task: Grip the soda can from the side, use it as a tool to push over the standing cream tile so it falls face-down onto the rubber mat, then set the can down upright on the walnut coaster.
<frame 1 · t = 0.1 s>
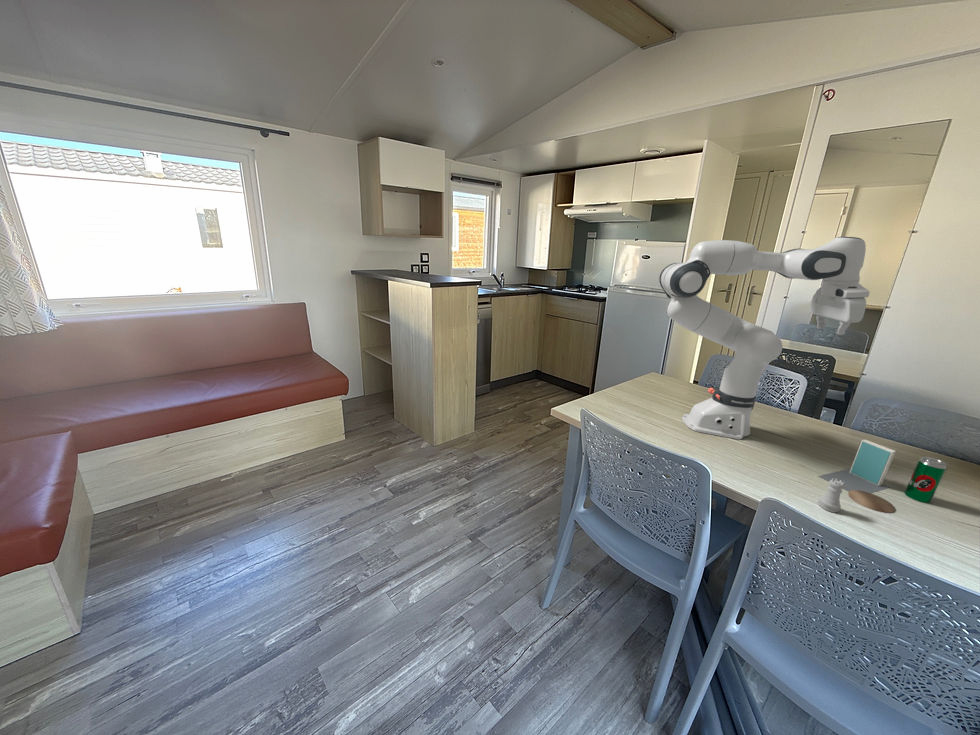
hand: (829, 331, 127), 39 cm above the table, tool pointing down, fingers open, 8 cm apart
rook chess piece: (827, 508, 99), on the table
rubber mat: (853, 483, 110), on the table
soda can: (916, 499, 105), on the table
coaster: (870, 502, 102), on the table
glazed tile: (865, 478, 112), resting on rubber mat
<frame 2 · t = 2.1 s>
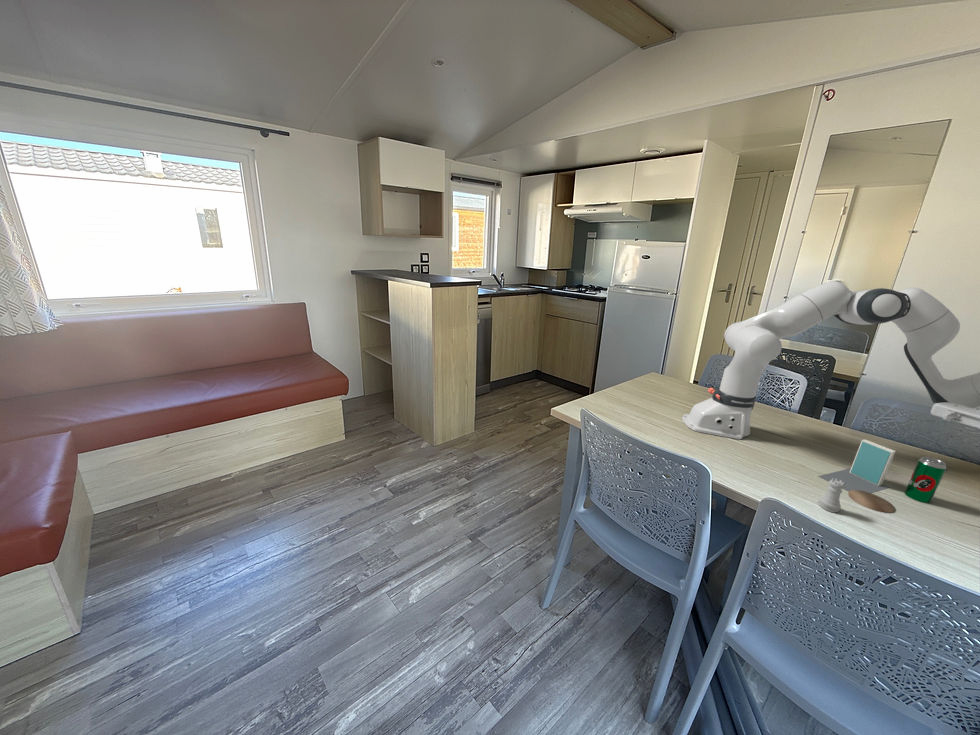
hand: (972, 425, 102), 21 cm above the table, tool horizontal, fingers open, 8 cm apart
nothing on the table moved.
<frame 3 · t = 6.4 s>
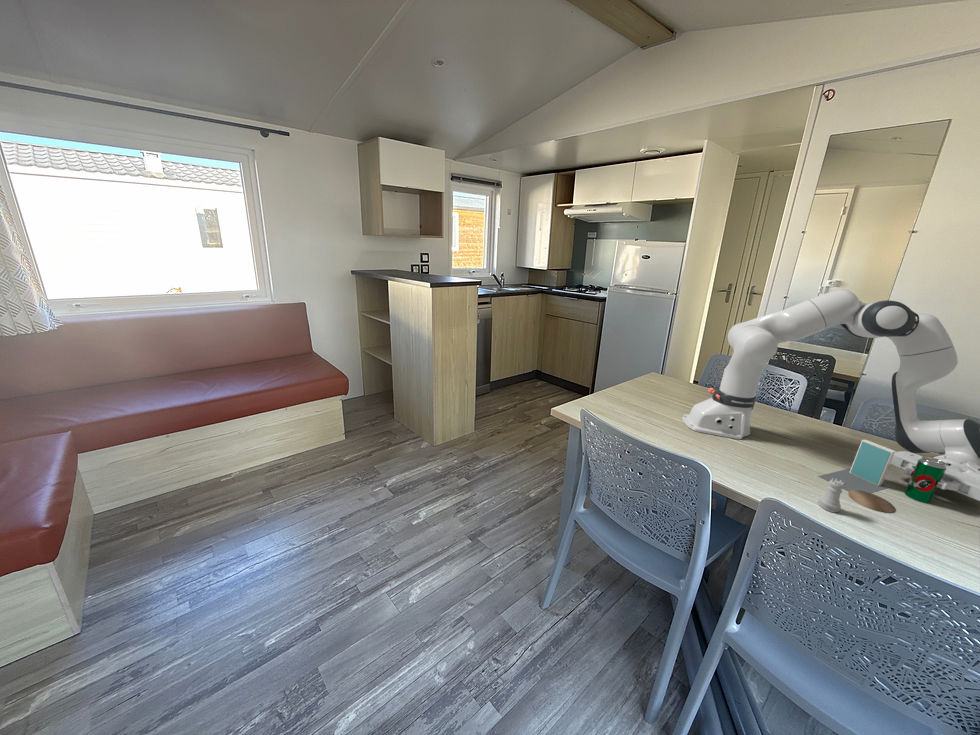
hand: (924, 478, 102), 7 cm above the table, tool horizontal, fingers closed on soda can, 5 cm apart
soda can: (916, 499, 105), on the table, touching gripper
everything else where it was.
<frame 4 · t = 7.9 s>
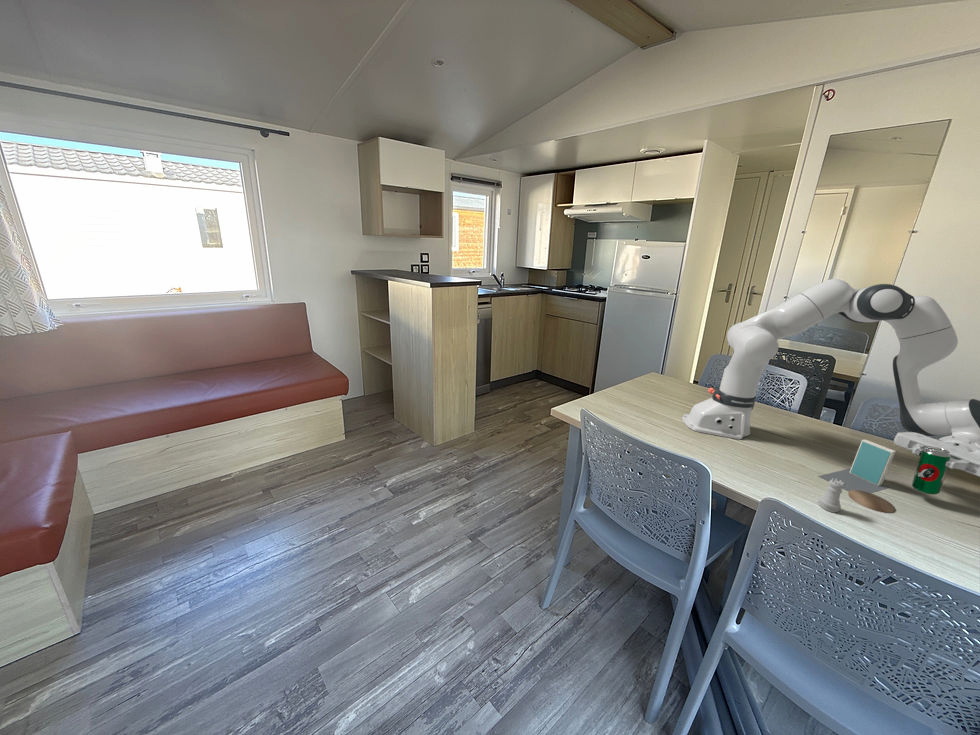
hand: (931, 458, 100), 13 cm above the table, tool horizontal, fingers closed on soda can, 5 cm apart
soda can: (924, 491, 103), point 3 cm above the table, touching gripper
everything else where it was.
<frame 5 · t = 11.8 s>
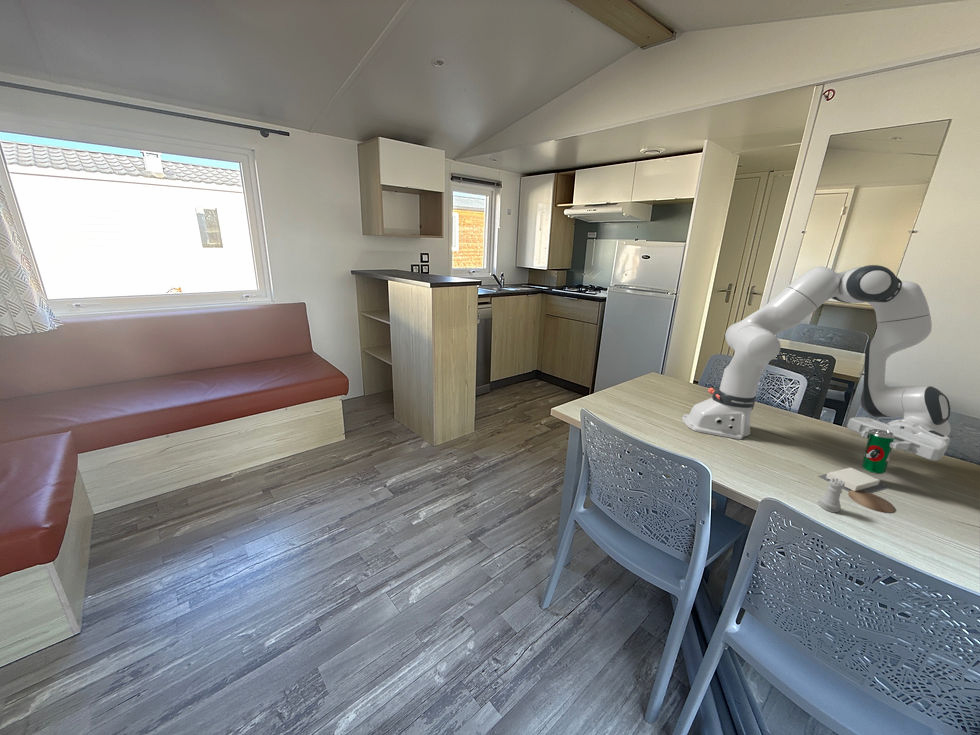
hand: (878, 440, 108), 13 cm above the table, tool horizontal, fingers closed on soda can, 5 cm apart
soda can: (872, 471, 110), point 4 cm above the table, touching gripper
glazed tile: (864, 475, 111), point 2 cm above the table, tilted 90°, touching coaster, rubber mat
everything else where it was.
when the fingers open (11 cm above the table, at t = 16.5 s): soda can stays where it is, resting on coaster.
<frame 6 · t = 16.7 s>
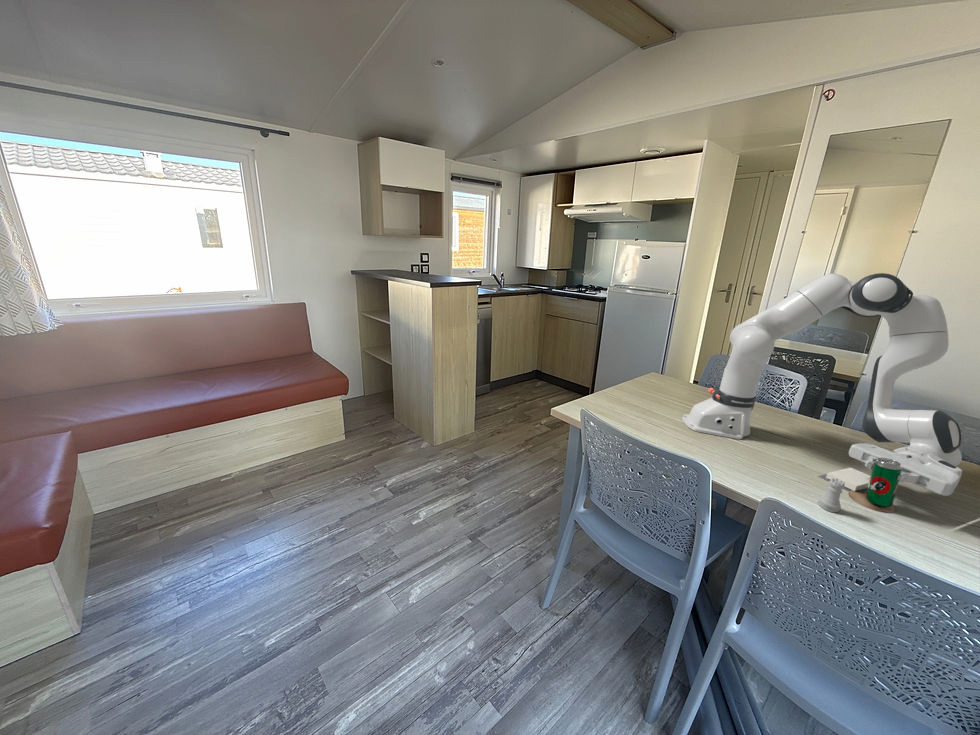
hand: (882, 471, 98), 10 cm above the table, tool horizontal, fingers open, 5 cm apart
soda can: (878, 503, 100), point 1 cm above the table, touching coaster, gripper
everything else where it was.
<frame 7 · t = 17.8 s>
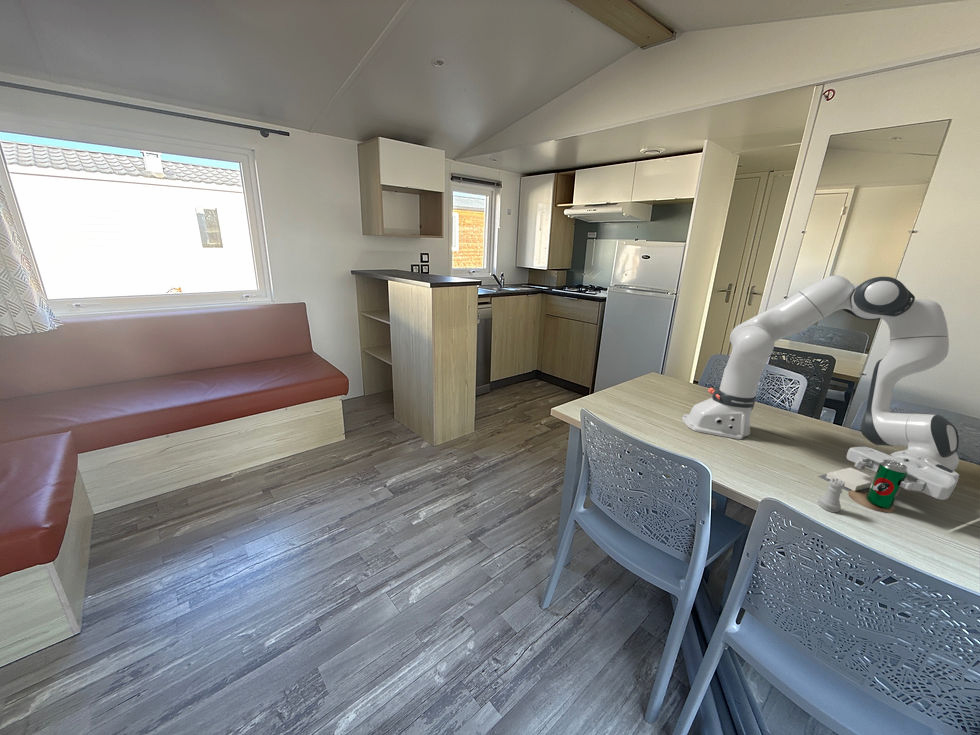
hand: (880, 475, 99), 9 cm above the table, tool horizontal, fingers open, 8 cm apart
soda can: (877, 504, 100), point 1 cm above the table, touching coaster
everything else where it was.
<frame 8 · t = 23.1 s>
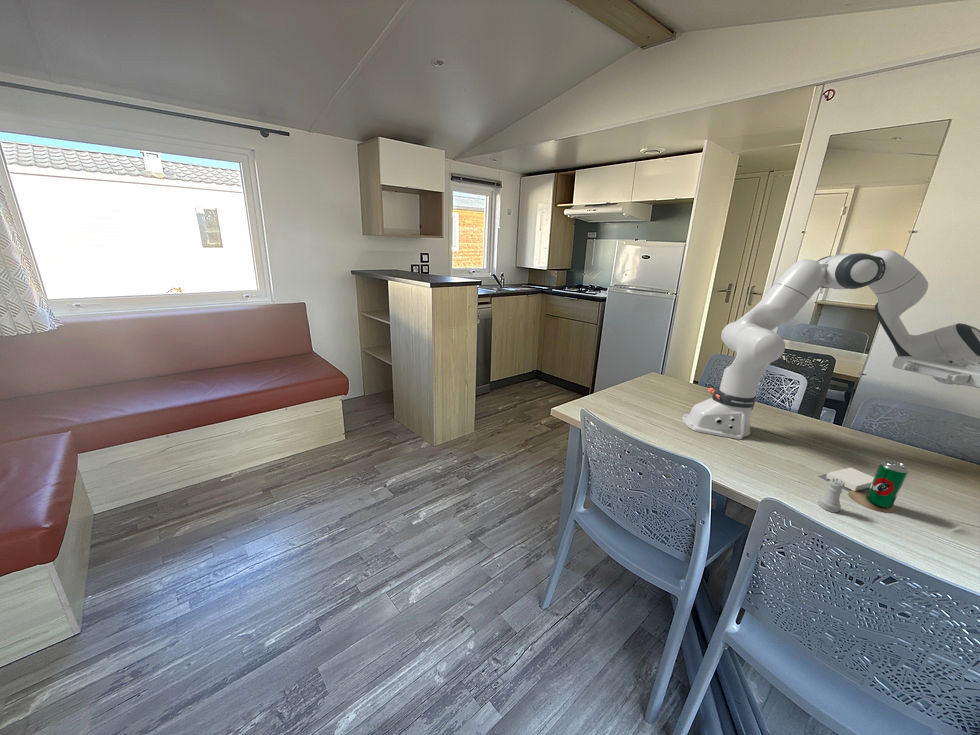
hand: (927, 372, 109), 32 cm above the table, tool horizontal, fingers open, 8 cm apart
nothing on the table moved.
at the end: glazed tile tilted 90°; soda can 1.4 cm from the coaster (horizontally); soda can tilted 0° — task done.
